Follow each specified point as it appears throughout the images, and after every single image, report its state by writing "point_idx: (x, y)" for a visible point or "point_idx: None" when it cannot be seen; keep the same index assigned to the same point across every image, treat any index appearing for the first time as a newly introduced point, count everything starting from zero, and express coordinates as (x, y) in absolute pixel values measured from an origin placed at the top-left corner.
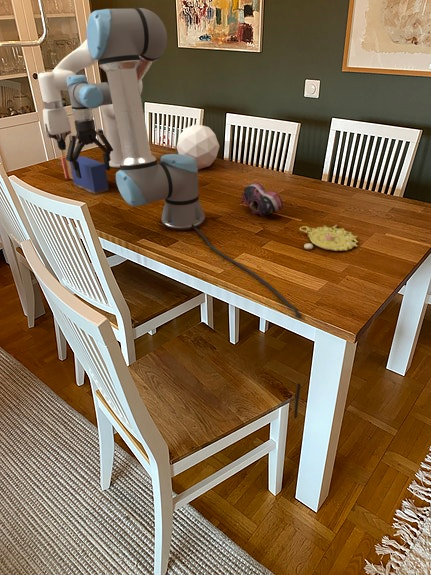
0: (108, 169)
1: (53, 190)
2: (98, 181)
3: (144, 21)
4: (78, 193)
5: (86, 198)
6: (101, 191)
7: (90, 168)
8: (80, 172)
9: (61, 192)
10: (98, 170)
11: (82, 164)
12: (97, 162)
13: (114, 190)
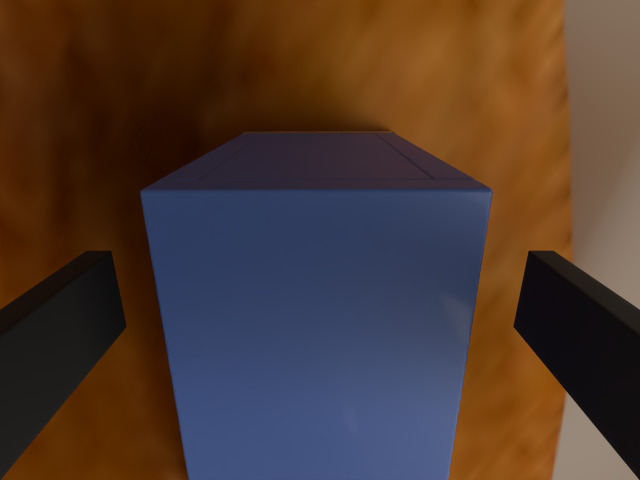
0: (105, 257)
1: (528, 433)
2: (342, 145)
3: None
4: None
5: (501, 103)
6: (323, 132)
7: (486, 187)
8: (572, 284)
9: (524, 367)
10: (316, 168)
11: (450, 445)
12: (210, 364)
13: (208, 86)
